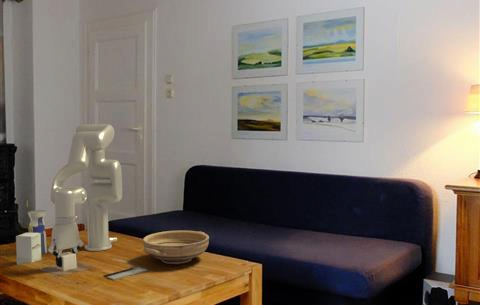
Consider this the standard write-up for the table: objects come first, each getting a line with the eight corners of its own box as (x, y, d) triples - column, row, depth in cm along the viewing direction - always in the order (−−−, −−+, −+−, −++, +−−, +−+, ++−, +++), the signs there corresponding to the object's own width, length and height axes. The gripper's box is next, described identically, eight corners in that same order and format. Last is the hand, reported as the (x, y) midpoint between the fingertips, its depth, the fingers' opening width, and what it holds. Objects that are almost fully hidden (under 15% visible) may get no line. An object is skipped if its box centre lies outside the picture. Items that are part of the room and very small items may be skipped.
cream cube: (69, 265, 209) (69, 251, 209) (76, 267, 206) (76, 254, 205) (56, 268, 205) (56, 254, 205) (63, 270, 201) (63, 257, 201)
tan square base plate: (74, 263, 217) (74, 252, 216) (95, 271, 206) (94, 258, 206) (38, 272, 205) (37, 260, 205) (58, 280, 194) (58, 267, 194)
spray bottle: (34, 256, 230) (32, 201, 229) (25, 253, 236) (23, 199, 234) (51, 252, 236) (49, 199, 235) (42, 249, 242) (40, 197, 240)
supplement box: (31, 266, 214) (30, 236, 213) (16, 265, 216) (15, 235, 215) (42, 261, 221) (41, 232, 221) (26, 260, 223) (25, 232, 222)
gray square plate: (124, 263, 216) (124, 262, 216) (147, 270, 206) (147, 269, 206) (90, 272, 205) (90, 270, 205) (113, 280, 194) (113, 278, 194)
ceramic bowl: (173, 276, 198) (173, 251, 197) (121, 265, 213) (121, 242, 213) (227, 255, 229) (227, 233, 228) (178, 247, 244) (178, 226, 244)
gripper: (79, 216, 213) (80, 258, 214) (40, 222, 200) (41, 267, 201) (89, 218, 208) (90, 262, 209) (49, 225, 195) (51, 271, 196)
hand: (66, 264), depth 205 cm, fingers closed on cream cube, 5 cm apart
